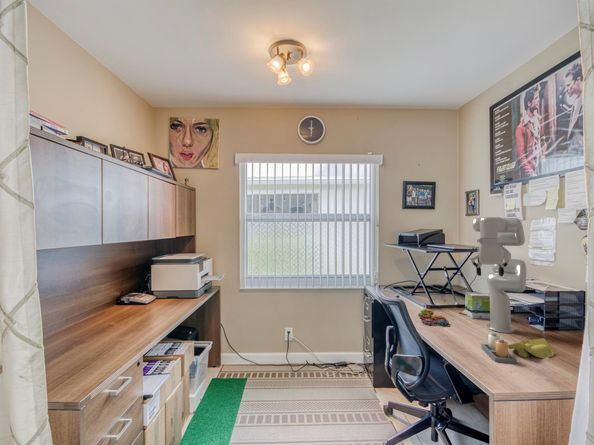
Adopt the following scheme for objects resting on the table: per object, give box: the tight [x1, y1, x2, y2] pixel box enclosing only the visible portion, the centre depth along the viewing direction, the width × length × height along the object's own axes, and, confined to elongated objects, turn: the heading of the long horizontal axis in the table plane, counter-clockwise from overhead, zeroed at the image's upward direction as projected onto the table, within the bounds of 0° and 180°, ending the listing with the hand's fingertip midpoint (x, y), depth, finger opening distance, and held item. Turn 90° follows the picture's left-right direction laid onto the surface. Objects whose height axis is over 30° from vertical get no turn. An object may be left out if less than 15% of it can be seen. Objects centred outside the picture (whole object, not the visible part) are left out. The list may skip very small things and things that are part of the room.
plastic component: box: [508, 338, 555, 359], centre depth 131 cm, size 20×7×10 cm
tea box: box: [464, 291, 490, 320], centre depth 188 cm, size 15×10×15 cm, turn 83°
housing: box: [480, 343, 518, 364], centre depth 130 cm, size 16×9×2 cm, turn 166°
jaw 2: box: [487, 332, 501, 350], centre depth 134 cm, size 4×4×8 cm
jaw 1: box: [495, 338, 509, 358], centre depth 126 cm, size 4×4×8 cm
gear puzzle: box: [417, 308, 452, 328], centre depth 186 cm, size 31×16×4 cm, turn 166°
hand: (490, 275), depth 147 cm, fingers open, 9 cm apart
